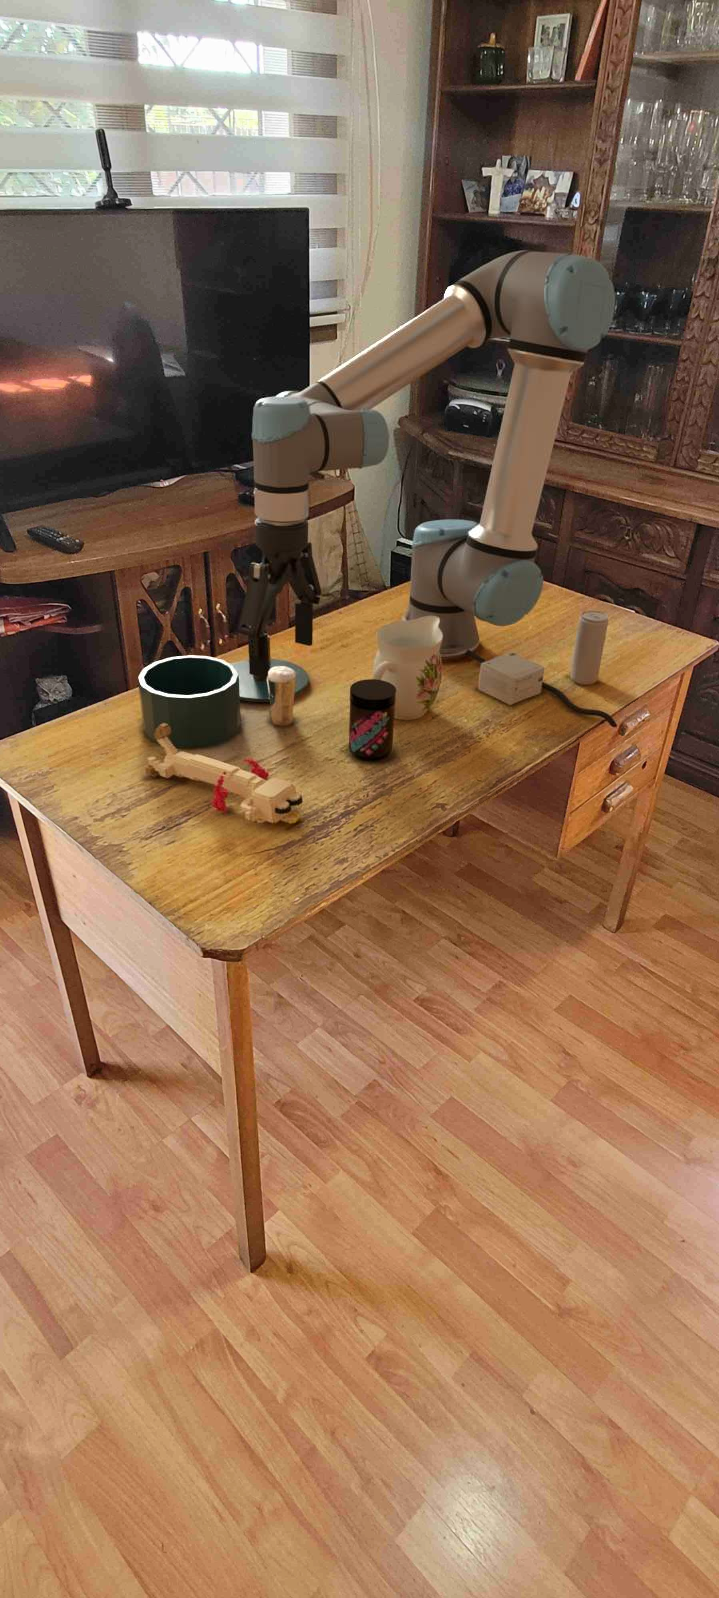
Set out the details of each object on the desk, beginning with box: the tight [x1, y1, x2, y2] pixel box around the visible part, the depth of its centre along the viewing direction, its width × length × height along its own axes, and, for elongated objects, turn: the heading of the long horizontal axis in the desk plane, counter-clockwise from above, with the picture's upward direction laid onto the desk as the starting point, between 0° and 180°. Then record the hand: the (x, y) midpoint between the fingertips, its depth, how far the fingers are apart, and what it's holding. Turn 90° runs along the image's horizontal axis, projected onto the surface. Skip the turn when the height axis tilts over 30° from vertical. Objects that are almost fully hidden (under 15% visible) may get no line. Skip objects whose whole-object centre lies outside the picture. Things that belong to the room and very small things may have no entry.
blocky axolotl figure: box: [145, 723, 305, 825], centre depth 126 cm, size 10×9×25 cm
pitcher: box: [371, 616, 443, 721], centre depth 147 cm, size 11×18×14 cm, turn 146°
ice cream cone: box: [267, 665, 302, 727], centre depth 144 cm, size 4×5×10 cm
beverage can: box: [569, 610, 609, 686], centre depth 160 cm, size 5×5×12 cm
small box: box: [477, 652, 545, 706], centre depth 157 cm, size 8×8×5 cm
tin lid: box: [230, 632, 310, 703], centre depth 156 cm, size 16×16×9 cm
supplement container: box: [348, 678, 396, 762], centre depth 137 cm, size 7×7×10 cm
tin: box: [137, 654, 242, 749], centre depth 143 cm, size 15×15×8 cm
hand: (282, 658), depth 141 cm, fingers open, 13 cm apart
